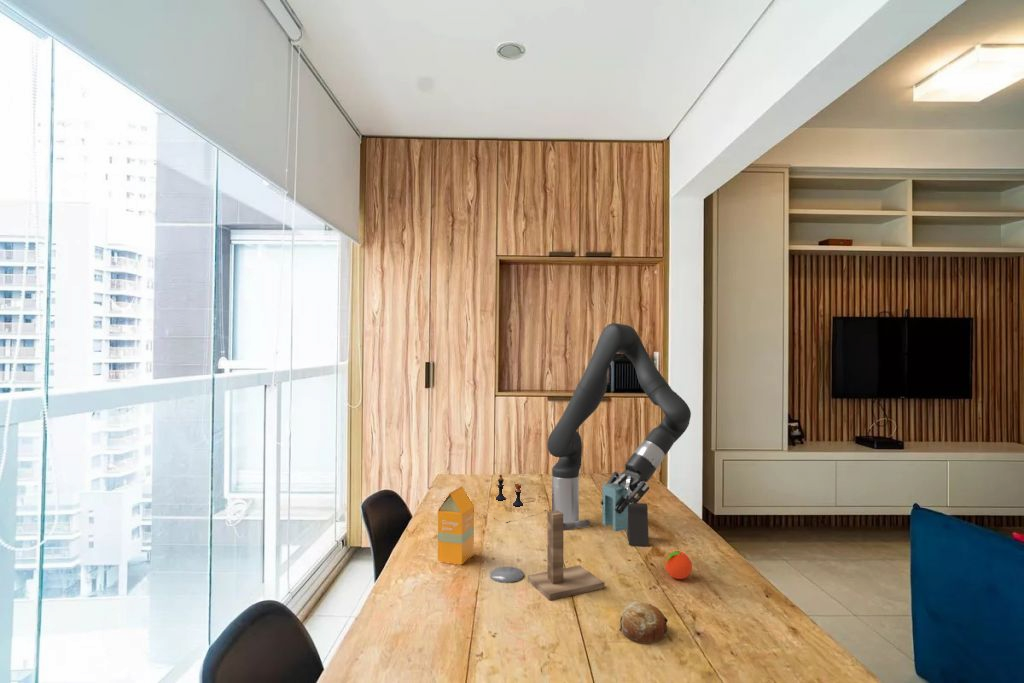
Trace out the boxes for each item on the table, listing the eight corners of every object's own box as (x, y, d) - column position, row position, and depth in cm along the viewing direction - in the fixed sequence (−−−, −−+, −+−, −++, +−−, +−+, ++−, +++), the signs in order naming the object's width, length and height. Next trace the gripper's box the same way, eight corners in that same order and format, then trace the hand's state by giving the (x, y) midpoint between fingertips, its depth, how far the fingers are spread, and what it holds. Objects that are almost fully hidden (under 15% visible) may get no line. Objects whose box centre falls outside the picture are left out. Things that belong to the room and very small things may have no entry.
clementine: (675, 586, 139) (675, 558, 139) (656, 576, 146) (656, 549, 146) (697, 580, 143) (697, 553, 143) (678, 570, 149) (678, 545, 149)
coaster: (485, 572, 148) (485, 570, 148) (515, 566, 152) (515, 564, 152) (498, 585, 140) (498, 582, 140) (529, 579, 144) (529, 576, 144)
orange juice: (474, 554, 161) (474, 486, 162) (461, 565, 153) (462, 494, 153) (450, 551, 164) (450, 484, 164) (437, 561, 155) (437, 492, 156)
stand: (527, 581, 142) (527, 508, 143) (579, 570, 149) (579, 501, 149) (549, 600, 132) (549, 521, 132) (604, 588, 138) (604, 513, 139)
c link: (602, 524, 149) (602, 484, 149) (614, 522, 151) (614, 483, 151) (615, 531, 144) (615, 489, 144) (627, 529, 145) (627, 488, 145)
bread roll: (622, 637, 122) (607, 605, 122) (662, 615, 123) (647, 584, 122) (635, 662, 112) (619, 627, 112) (679, 638, 113) (663, 604, 113)
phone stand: (648, 547, 167) (648, 508, 167) (629, 546, 168) (628, 507, 168) (645, 537, 176) (645, 500, 176) (627, 536, 177) (626, 499, 177)
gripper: (621, 447, 157) (587, 493, 152) (654, 456, 144) (617, 507, 139) (636, 464, 159) (603, 510, 154) (670, 474, 146) (634, 525, 141)
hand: (610, 508), depth 146 cm, fingers closed on c link, 6 cm apart
